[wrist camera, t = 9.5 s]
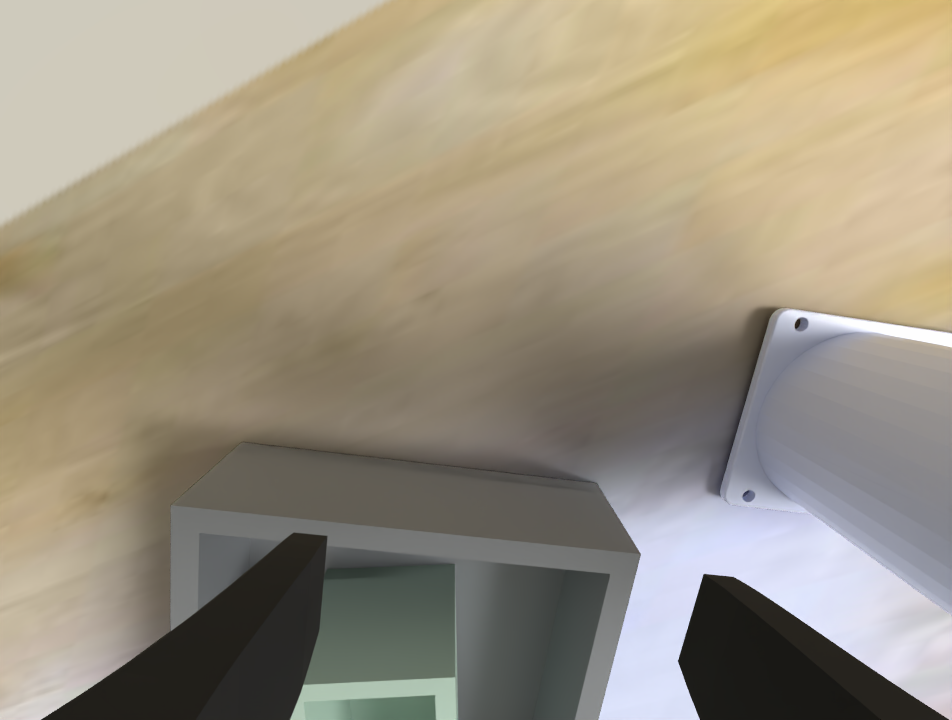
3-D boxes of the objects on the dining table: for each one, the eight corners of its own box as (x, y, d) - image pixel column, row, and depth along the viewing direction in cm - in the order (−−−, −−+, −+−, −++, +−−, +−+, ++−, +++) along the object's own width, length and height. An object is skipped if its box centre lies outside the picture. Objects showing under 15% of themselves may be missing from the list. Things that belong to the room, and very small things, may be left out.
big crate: (596, 483, 19) (640, 553, 14) (521, 816, 22) (538, 952, 18) (241, 442, 17) (171, 505, 13) (227, 799, 21) (169, 940, 17)
